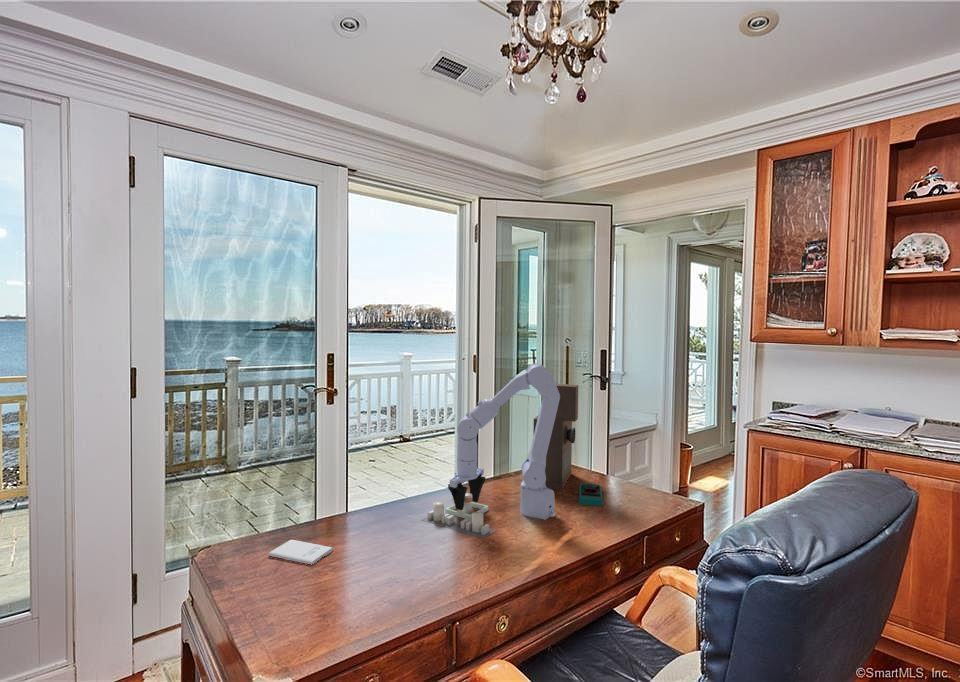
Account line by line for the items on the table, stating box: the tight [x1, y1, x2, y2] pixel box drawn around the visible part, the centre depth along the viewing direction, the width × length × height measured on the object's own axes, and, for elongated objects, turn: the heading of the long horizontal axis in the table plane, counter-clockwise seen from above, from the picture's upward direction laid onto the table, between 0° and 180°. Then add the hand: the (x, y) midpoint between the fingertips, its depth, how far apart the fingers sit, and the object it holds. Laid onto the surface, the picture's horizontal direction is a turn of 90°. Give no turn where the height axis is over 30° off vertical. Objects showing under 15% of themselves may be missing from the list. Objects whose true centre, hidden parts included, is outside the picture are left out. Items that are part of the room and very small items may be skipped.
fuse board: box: [421, 509, 497, 539], centre depth 138 cm, size 21×6×3 cm, turn 57°
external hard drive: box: [268, 539, 334, 566], centre depth 123 cm, size 2×8×12 cm
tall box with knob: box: [532, 383, 579, 490], centre depth 181 cm, size 19×14×35 cm
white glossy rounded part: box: [432, 501, 445, 522], centre depth 142 cm, size 3×3×4 cm
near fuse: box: [471, 511, 484, 533], centre depth 134 cm, size 3×3×4 cm
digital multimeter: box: [578, 483, 604, 507], centre depth 164 cm, size 7×15×3 cm, turn 169°
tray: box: [444, 501, 489, 521], centre depth 148 cm, size 9×9×2 cm
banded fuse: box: [461, 492, 473, 514], centre depth 148 cm, size 3×3×6 cm
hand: (467, 505), depth 148 cm, fingers open, 7 cm apart
